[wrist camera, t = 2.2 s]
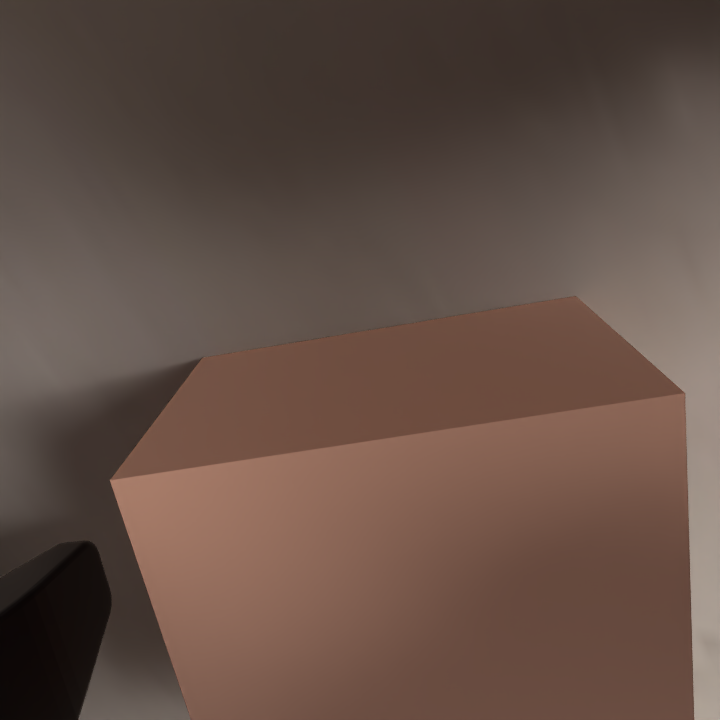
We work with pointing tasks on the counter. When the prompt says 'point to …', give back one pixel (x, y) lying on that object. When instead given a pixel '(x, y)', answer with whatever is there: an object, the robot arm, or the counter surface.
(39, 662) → the robot arm
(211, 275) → the counter surface
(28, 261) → the counter surface
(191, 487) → the brick terracotta
